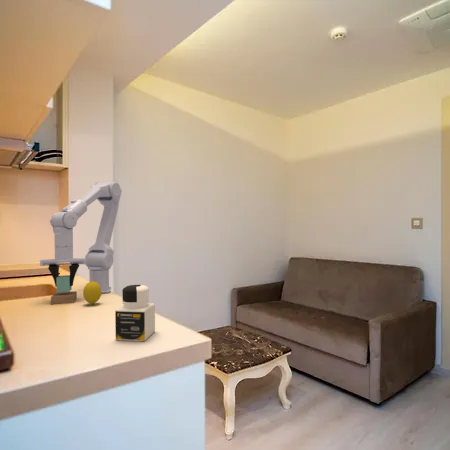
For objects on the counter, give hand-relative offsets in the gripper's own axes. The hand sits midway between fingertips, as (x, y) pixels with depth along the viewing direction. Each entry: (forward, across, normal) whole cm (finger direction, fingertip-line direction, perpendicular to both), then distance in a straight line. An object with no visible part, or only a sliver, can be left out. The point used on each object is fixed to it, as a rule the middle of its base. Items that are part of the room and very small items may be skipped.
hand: (64, 285), depth 115 cm
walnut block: (+6, 0, 0) cm, 6 cm away
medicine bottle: (+6, +24, -43) cm, 50 cm away
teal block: (+2, 0, 0) cm, 2 cm away
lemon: (+6, +10, -8) cm, 14 cm away
